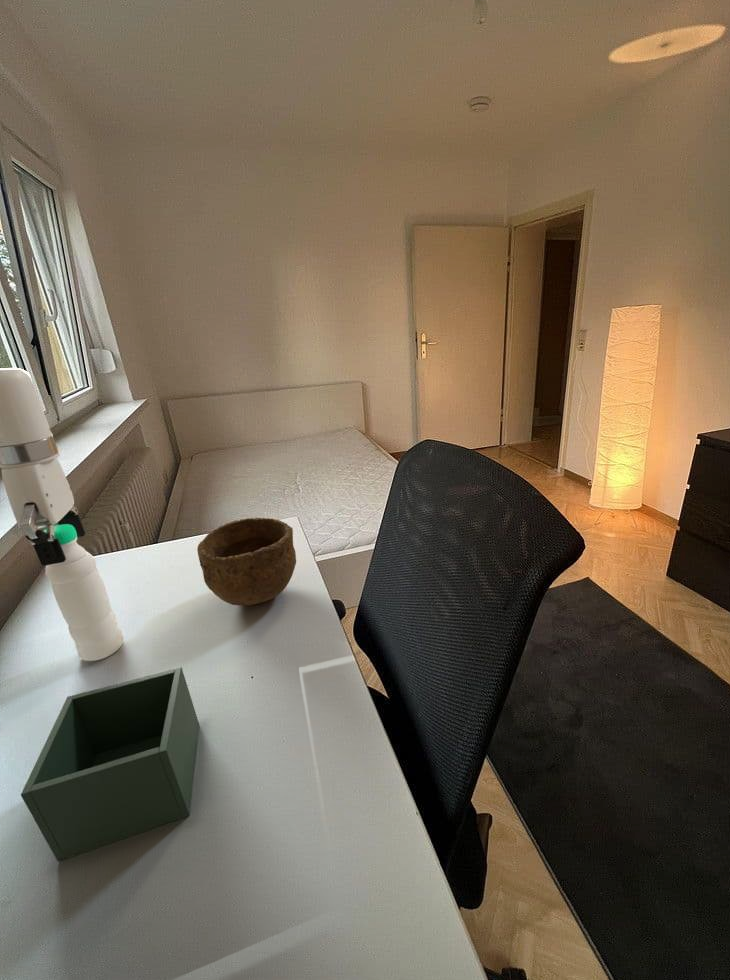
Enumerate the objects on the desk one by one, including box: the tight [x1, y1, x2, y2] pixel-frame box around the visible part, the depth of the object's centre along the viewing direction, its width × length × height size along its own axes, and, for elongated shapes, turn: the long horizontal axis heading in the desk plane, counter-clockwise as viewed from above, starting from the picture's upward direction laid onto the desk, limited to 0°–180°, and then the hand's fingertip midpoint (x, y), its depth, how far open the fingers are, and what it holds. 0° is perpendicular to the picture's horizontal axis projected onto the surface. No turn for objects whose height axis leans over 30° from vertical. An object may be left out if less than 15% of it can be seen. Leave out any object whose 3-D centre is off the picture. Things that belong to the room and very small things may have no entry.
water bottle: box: [43, 524, 125, 662], centre depth 77 cm, size 7×7×25 cm
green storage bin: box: [20, 666, 200, 862], centre depth 55 cm, size 14×14×11 cm
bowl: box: [196, 517, 297, 606], centre depth 92 cm, size 19×19×15 cm
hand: (65, 549), depth 74 cm, fingers open, 9 cm apart
